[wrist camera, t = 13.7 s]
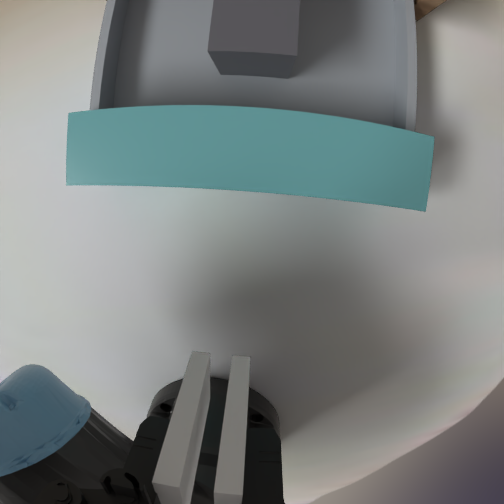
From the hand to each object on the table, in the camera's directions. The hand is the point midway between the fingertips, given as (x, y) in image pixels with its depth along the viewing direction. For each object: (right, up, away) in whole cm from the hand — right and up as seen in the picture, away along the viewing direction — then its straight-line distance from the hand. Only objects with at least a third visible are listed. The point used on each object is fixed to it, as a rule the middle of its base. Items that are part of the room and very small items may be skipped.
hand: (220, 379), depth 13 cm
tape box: (+2, +22, +7) cm, 23 cm away
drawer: (+2, +22, +8) cm, 23 cm away
